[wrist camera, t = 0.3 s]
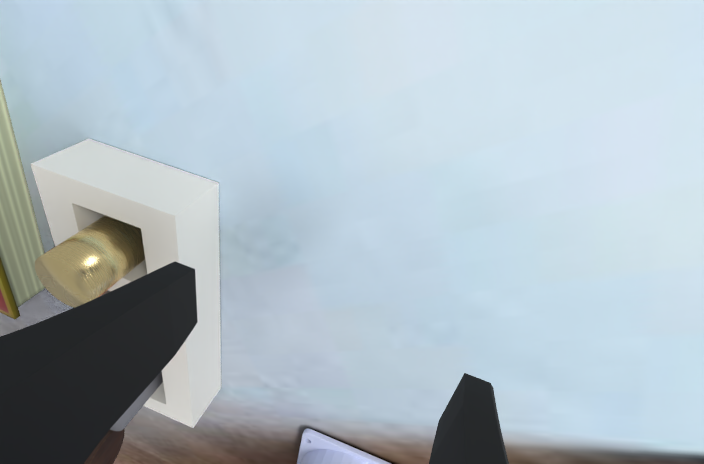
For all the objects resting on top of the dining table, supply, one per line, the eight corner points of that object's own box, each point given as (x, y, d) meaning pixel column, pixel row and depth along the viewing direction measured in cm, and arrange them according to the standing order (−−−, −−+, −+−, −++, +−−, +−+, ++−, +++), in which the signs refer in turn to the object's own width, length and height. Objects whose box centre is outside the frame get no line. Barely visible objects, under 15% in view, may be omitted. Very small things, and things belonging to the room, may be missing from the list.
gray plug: (169, 386, 30) (127, 437, 27) (132, 370, 31) (86, 418, 27) (165, 359, 28) (120, 410, 25) (126, 342, 29) (77, 391, 26)
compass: (65, 368, 40) (-13, 439, 34) (138, 406, 39) (72, 485, 34) (75, 412, 45) (8, 481, 39) (141, 446, 44) (83, 522, 38)
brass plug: (153, 267, 24) (95, 316, 21) (107, 249, 24) (43, 295, 21) (147, 223, 22) (83, 269, 19) (97, 204, 22) (27, 246, 19)
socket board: (221, 387, 33) (193, 428, 30) (131, 349, 34) (96, 384, 31) (218, 182, 22) (175, 215, 20) (88, 138, 24) (30, 163, 21)
